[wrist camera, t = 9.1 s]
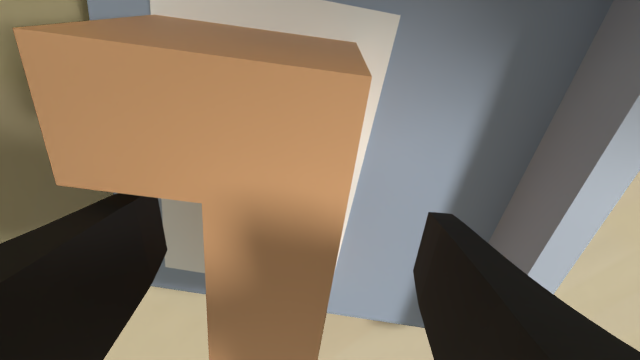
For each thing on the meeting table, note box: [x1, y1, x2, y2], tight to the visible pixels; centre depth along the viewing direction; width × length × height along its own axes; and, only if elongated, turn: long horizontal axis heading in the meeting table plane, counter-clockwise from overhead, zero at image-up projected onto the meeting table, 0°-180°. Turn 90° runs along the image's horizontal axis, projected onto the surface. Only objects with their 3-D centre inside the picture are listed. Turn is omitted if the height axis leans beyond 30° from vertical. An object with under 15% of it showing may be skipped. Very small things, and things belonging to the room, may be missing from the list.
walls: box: [488, 0, 640, 294], centre depth 11 cm, size 16×16×4 cm
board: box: [87, 0, 614, 328], centre depth 12 cm, size 16×16×1 cm
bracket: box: [13, 14, 372, 360], centre depth 10 cm, size 10×6×5 cm, turn 173°
